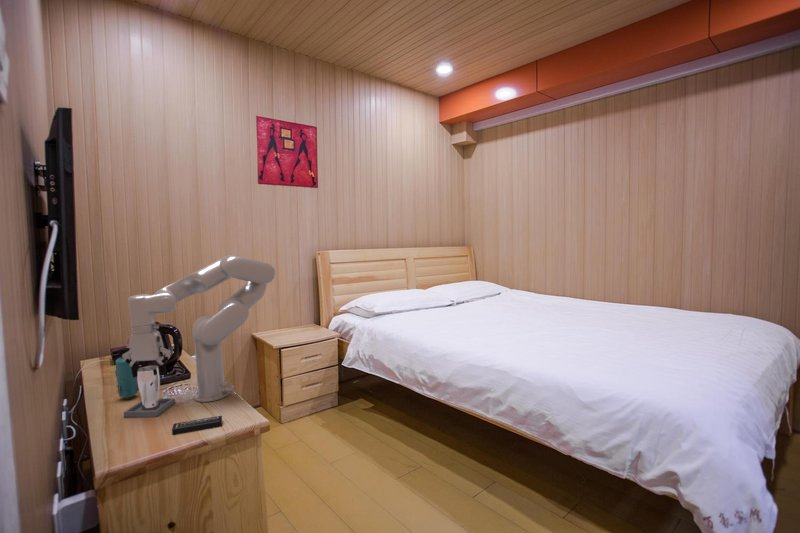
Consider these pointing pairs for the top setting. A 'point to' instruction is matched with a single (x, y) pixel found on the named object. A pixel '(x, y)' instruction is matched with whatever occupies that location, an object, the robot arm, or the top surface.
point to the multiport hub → (196, 425)
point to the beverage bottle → (125, 376)
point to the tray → (136, 411)
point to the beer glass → (149, 387)
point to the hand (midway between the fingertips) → (149, 375)
